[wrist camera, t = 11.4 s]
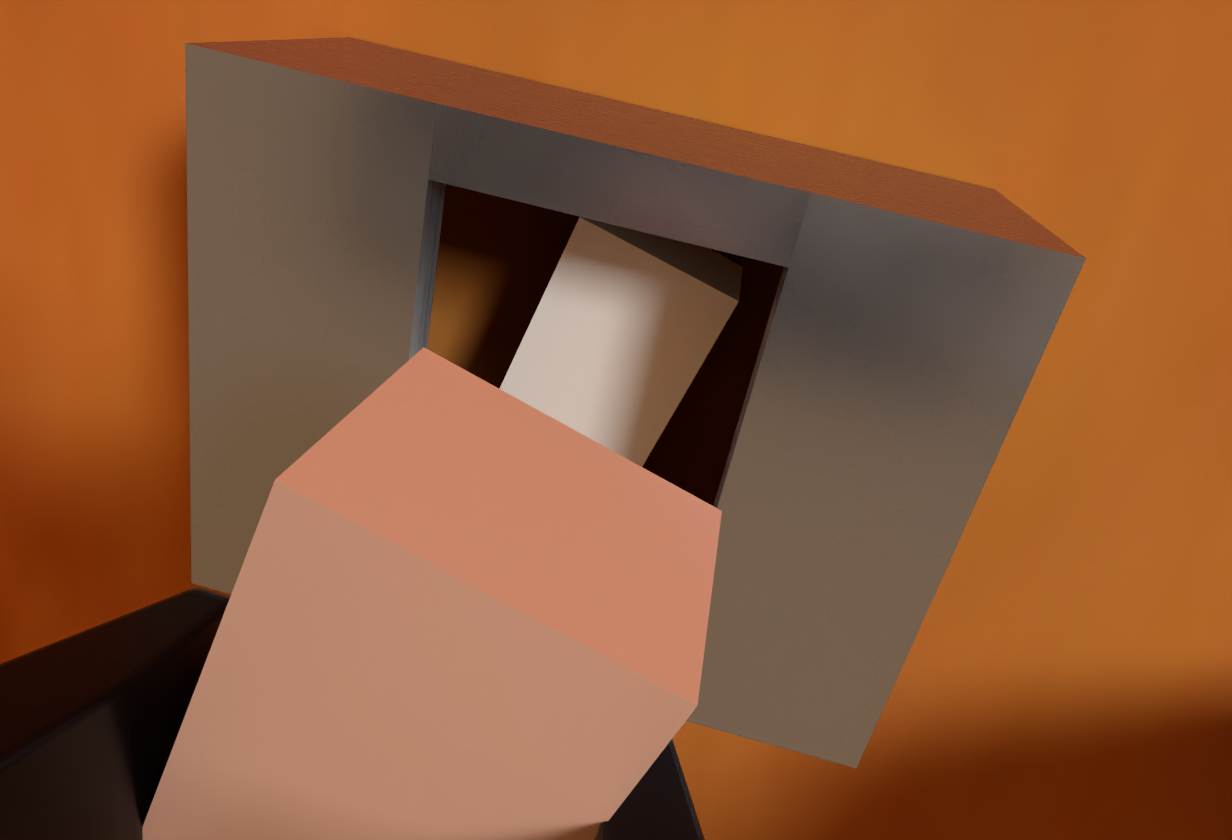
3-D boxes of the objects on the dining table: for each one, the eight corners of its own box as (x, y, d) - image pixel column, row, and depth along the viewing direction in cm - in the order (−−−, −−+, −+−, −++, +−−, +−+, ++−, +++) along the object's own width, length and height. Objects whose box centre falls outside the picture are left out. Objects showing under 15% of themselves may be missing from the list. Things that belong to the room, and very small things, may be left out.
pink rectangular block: (722, 510, 8) (696, 706, 6) (499, 834, 10) (417, 1067, 8) (423, 346, 8) (274, 479, 5) (263, 710, 10) (109, 912, 8)
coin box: (995, 189, 15) (1086, 258, 11) (837, 595, 19) (856, 768, 15) (348, 37, 16) (185, 43, 12) (321, 457, 20) (191, 583, 16)
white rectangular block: (743, 263, 17) (738, 301, 15) (629, 462, 19) (610, 521, 17) (605, 190, 17) (579, 216, 15) (506, 399, 19) (470, 449, 17)
